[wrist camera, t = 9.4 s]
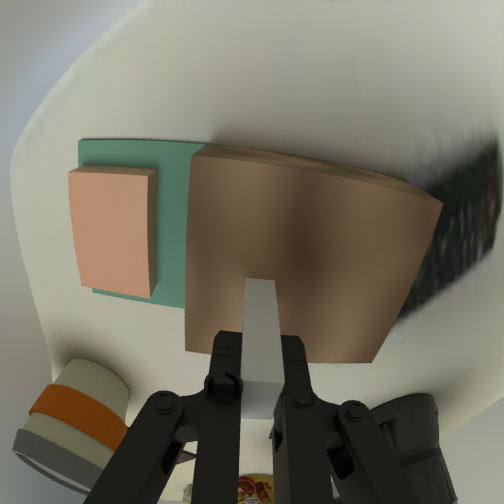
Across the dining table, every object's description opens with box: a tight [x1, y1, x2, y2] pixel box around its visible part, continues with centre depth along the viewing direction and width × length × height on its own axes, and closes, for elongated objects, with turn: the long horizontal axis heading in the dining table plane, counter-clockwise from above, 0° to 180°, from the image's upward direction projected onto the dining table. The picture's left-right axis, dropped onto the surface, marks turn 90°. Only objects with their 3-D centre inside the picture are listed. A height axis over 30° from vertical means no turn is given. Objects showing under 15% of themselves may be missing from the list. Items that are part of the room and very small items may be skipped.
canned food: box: [238, 474, 274, 504], centre depth 41 cm, size 8×8×12 cm
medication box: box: [183, 484, 193, 503], centre depth 52 cm, size 12×3×4 cm, turn 162°
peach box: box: [68, 166, 158, 299], centre depth 19 cm, size 6×9×2 cm, turn 172°
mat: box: [78, 139, 214, 308], centre depth 20 cm, size 10×13×1 cm
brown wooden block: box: [185, 145, 443, 363], centre depth 18 cm, size 14×13×5 cm
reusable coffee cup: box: [12, 359, 129, 496], centre depth 23 cm, size 13×13×15 cm
